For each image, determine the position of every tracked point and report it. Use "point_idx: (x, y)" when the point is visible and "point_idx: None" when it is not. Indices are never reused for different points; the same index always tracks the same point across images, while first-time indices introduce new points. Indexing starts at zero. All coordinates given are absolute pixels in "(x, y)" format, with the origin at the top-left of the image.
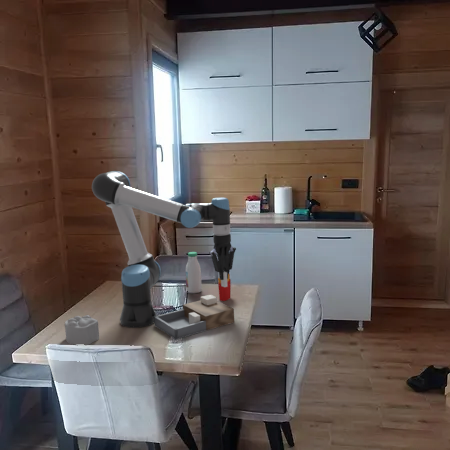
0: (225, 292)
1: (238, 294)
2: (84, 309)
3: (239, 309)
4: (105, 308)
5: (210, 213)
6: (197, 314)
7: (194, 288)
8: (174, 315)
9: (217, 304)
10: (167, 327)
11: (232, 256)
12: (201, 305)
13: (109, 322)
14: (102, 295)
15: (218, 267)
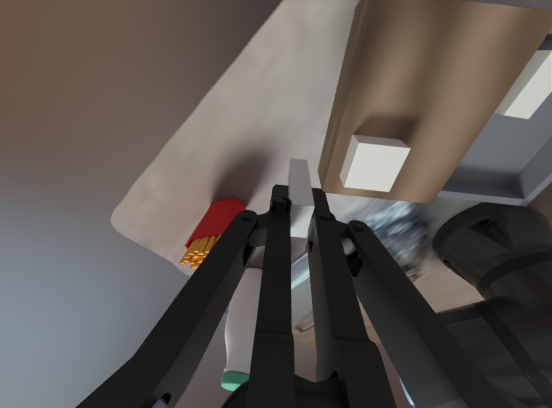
0: (228, 212)
1: (179, 207)
2: None
3: (245, 113)
4: (432, 306)
5: None
6: (537, 74)
7: (260, 278)
8: (456, 187)
9: (367, 116)
10: None
11: (189, 310)
12: (410, 154)
13: None
14: None
15: (374, 251)
